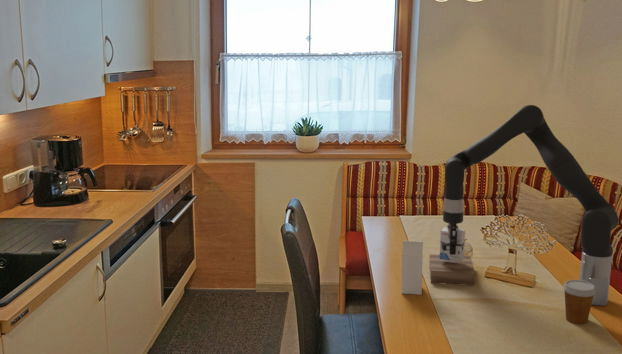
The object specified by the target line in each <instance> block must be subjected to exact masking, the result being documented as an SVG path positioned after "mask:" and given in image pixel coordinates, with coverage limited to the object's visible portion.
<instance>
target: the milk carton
mask: <svg viewBox="0 0 622 354" xmlns="http://www.w3.org/2000/svg"><path fill="white" fill-rule="evenodd" d="M423 245H424V241H419V240H418V241H416V240H415V241H414V240H402V251H401V252H402V253H401V294H402V295H403V294H405V295H418V296H419V295H420V296H421V295H422V291H423V290H422V289H423V288H422V287H423V256H424V255H423V253H424V252H423V251H424V250H423V249H424V246H423Z"/></svg>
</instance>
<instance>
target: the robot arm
mask: <svg viewBox="0 0 622 354" xmlns="http://www.w3.org/2000/svg"><path fill="white" fill-rule="evenodd" d="M521 134H525V135H526V137H527V138H528V139H529V140H530V141H531V143H533V145H534V146H535V148H536V149H537V151H538V153H539V155H540V157H541V159H542V161H543V163H544V165H545V166H546V167H547V169H548V171H549V172H550V173H551V175H552V177H553V178H554V180H555V181H556V182H557V183H558V185H559V186H561V187H562V188H563V189H564V190H566V191H567V192H568V193H569V194H571V196H573V197H574V198H575V199H577V201H578V202H579V203H580V205H581V206H582V207H583V209H584V210H585V213H584V214H583V216H582V220H581V230H580V231H581V232H580V244H581V247H582V250H581V261H580V273H579V280H582V281H586V282H589V283H591V284H593V285H594V287H595V290H596V292H595V294H594V296H593V300H592V304H591V306H604V307H605V306H606V307H607V304H608V302H609V294H610V293H609V292H610V281H611V272H612V260H613V252H614V249H613V246H612V245H611V234H612V233H611V232H612V231H613V230H615V229H616V228H617V226H618V224H619V216H618V213H617V211H616V210H615V209H614V207H613V206H612V205H611V204H610V203H609V202H608V200H606V199H605V197H604V196H603V195H602V193H600V192H599V190H598V189H597V188H596V186H595V185H594V184H593V182H592V181H591V180H590V177H589V176H588V175H587V173H586V171H584V169H583V168H582V166H581V165H580V163H579V162H578V161H577V159H576V158H575V156H574V155H573V154H572V153H571V152H570V151H569V149H568V148H567V147H566V146H565V145H564V144H563V143H562V142H561V141H560V140H559V139H558V138H557V137H556V136H555V134H554V133H553V131H552V130H551V128H550V127H549V125H548V123H547V121H546V119H545V116H544V113H543V111H542V109H541V107H538V106H537V105H533V104H527V105H524V106H522V107H521V108H520V109H519V110H518V111H517V112H515V113H514V114H513V115H512V116H511V117H510V118H509V119H508V120H507V121H504V123H502V124H501V125H500V126H499V127H497V128H496V129H494V130H493V131H491V132H489V134H486V135H485V136H483V137H482V138H480V139H479V140H477V141H476V142H474V143H472V144H471V145H470V146H468V147H467V148H465V149H464V150H461V151H459V152H458V153H456V154H453V155H452V156H450V157H449V158H448V159H447V160H446V161H445V165H444V167H445V168H444V175H445V176H444V177H445V178H444V179H445V185H444V191H443V192H444V195H443V203H442V204H443V206H442V207H443V208H442V221H443V223H447V225H446V227H447V229H448V239H450V243H449V244H450V254H451V255H455V254H456V245H457V238H458V237H457V233H458V229H459V225H458V224H462V223H463V222H464V210H465V209H464V208H465V207H464V204H465V201H464V191H465V190H464V179H465V170H467V169H468V168H470V167H472V166H473V165H477V164H480V163H481V162H483V161H484V160H486V159H488V158H489V157H491V156H492V155H493V154H495V153H497V152H498V150H500V149H501V148H502V147H503V146H504V145H506V144H507V143H508V142H510V141H511V140H513V139H514V138H516V137H518V136H520V135H521ZM452 240H455V242H452Z"/></svg>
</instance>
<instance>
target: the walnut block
mask: <svg viewBox="0 0 622 354" xmlns="http://www.w3.org/2000/svg"><path fill="white" fill-rule="evenodd" d="M429 278H430V279H429V280H431V281H430V284H438V283H446V284H445V285H458V284H467V285H466V286H475V284H476V283H475V281H476V280H475V278H476V272H475V268H474V264H473V261H472V257H471V256H470V255H464V259H463V260H462V261H461V262H456V261H449V260H442V259H440V254H429Z"/></svg>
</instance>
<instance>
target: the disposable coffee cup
mask: <svg viewBox="0 0 622 354" xmlns="http://www.w3.org/2000/svg"><path fill="white" fill-rule="evenodd" d="M562 285H563V286H562V288H563V290H564V291H563V292H564V303H565V304H564V305H565V307H564V308H565V319H566V320H567V321H568V322H570V323H572V324H578V325H584V324H587V323H588V320H589V316H590V313H591V307H592V305H591V304H592V300H593V296H594V294H595V292H596V290H595V287H594V285H593V284H591V283H589V282H586V281H582V280H580V279H569V280H566V281H565V282H564V284H562Z"/></svg>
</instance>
